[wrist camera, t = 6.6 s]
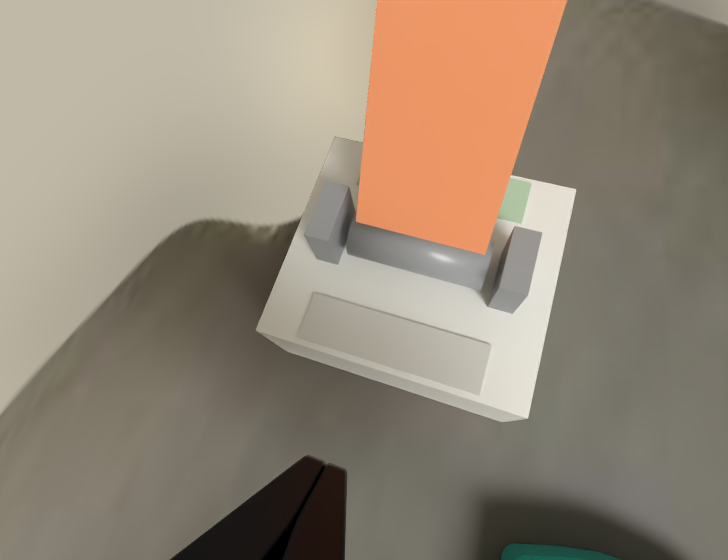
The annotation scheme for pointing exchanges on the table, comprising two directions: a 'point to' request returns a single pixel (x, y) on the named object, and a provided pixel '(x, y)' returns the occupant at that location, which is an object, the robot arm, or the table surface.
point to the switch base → (423, 299)
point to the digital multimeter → (550, 553)
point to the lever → (446, 129)
